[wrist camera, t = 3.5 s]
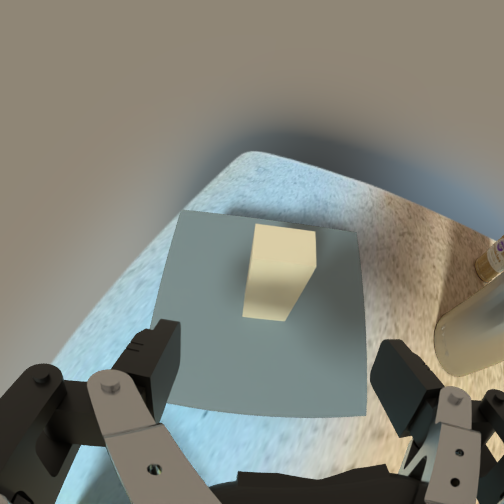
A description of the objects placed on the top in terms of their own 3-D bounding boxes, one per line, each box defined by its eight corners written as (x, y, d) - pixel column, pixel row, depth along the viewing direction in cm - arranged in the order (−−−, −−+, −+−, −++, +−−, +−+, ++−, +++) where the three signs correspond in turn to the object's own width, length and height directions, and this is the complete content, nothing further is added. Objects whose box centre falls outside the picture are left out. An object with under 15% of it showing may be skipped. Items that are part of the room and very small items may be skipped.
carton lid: (330, 273, 31) (393, 167, 18) (329, 417, 23) (438, 406, 10) (189, 256, 31) (170, 134, 18) (161, 401, 23) (82, 381, 9)
